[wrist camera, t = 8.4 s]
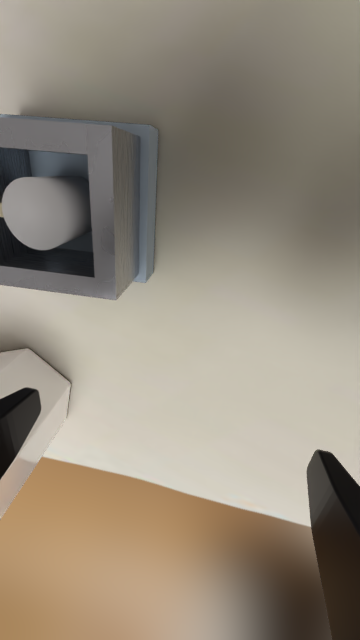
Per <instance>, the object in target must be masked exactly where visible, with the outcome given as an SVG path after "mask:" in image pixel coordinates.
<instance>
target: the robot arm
mask: <svg viewBox="0 0 360 640" xmlns="http://www.w3.org/2000/svg"><path fill="white" fill-rule="evenodd" d="M40 412H41V401H40V394H39V391H38V390H37V389H34V388H29V387H25V388H22V389H20V390H18V391H16V392H14V393H12V394H10V395H8V396H5V397H3V398H1V399H0V480H1V478H2V477H3V475H4V474H5V472H6V471H7V470H8V468H9V467H10V465H11V464H12V462H13V461H14V459H15V458H16V456H17V454H18V453H19V451H20V449H21V447H22V446H23V444H24V442H25V440H26V438H27V437H28V435H29V433H30V431H31V429H32V428H33V426H34V424H35V422H36V420H37V419H38V417H39V415H40ZM307 483H308V495H309V507H310V519H311V529H312V535H313V540H314V546H315V551H316V555H317V562H318V567H319V572H320V578H321V583H322V588H323V594H324V599H325V604H326V610H327V615H328V620H329V625H330V630H331V636H332V640H360V486H359V485H358V484H357V483H356V481H355V480H354V479H353V478H352V477H351V475H350V474H349V473H348V472H347V471H346V469H345V468H344V467H343V466H342V465H341V463H340V462H339V461H338V460H337V459H336V457H335V456H334V455H333V454H332V453H331V452H328V451H323V450H316V451H315V452H314V454H313V456H312V458H311V461H310V463H309V465H308V467H307Z"/></svg>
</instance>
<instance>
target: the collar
mask: <svg viewBox="0 0 360 640" xmlns="http://www.w3.org/2000/svg"><path fill="white" fill-rule="evenodd" d="M140 148H141V137H140V136H138V135H135V134H132V133H130V132H127V131H125V130H122V129H119V128H117V127H114V126H111V125H97V124H84V123H71V122H57V121H44V120H31V119H17V118H4V117H0V202H2V197H3V194H4V191H5V189H6V188H7V186H8V185H9V184H10V183H11V182H12V181H14V180H16V179H18V178H23V177H32V172H31V165H30V158H29V151H28V150H30V151H42V152H54V153H65V154H77V155H87V156H88V173H89V189H90V206H91V223H92V239H93V252H87V251H79V250H70V249H62V248H52V249H49V250H37V249H33V248H30V247H28V246H26V245H25V244H23V243H22V242H20V241H19V240H18V239H17V238H16V237H15V236H14V235H13V233H12V232H11V231H10V229H9V228H8V226H7V224H6V222H5V219H4V217H0V285H6V286H13V287H21V288H28V289H36V290H43V291H51V292H58V293H66V294H73V295H80V296H88V297H95V298H103V299H110V300H117V299H118V298H119V296H120V295H121V294H122V293H123V292H124V291H125V290H126V288H127V287H128V286H129V285H130V284H131V283H132V282H133V280H134V279H135V278H136V277H137V276H138V275H139V228H140Z"/></svg>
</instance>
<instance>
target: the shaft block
mask: <svg viewBox="0 0 360 640" xmlns="http://www.w3.org/2000/svg"><path fill="white" fill-rule="evenodd" d="M0 117H4V118H17V119H31V120H44V121H57V122H71V123H84V124H97V125H111V126H114V127H117V128H119V129H122V130H125V131H127V132H130V133H132V134H135V135H138V136H140V137H141V148H140V228H139V275H138V276H137V277H136V278H135V279H134V280H133V281H135V282H143V283H146V282H147V281H148V279H149V278H150V277H151V275H152V274H153V269H154V241H155V213H156V184H157V156H158V129H156V128H154V127H152V126H151V125H145V124H131V123H117V122H104V121H90V120H76V119H62V118H49V117H35V116H21V115H7V114H0ZM28 151H29V158H30V165H31V172H32V177H23V178H18V179H16V180H14V181H12V182H11V183H10V184H9V185H8V186H7V188H6V189H5V191H4V194H3V197H2V202H0V217H4V219H5V222H6V224H7V226H8V228H9V229H10V231H11V232H12V233H13V235H14V236H15V237H16V238H17V239H18V240H19V241H20V242H22V243H23V244H25V245H26V246H28V247H30V248H33V249H37V250H49V249H52V248H62V249H70V250H79V251H87V252H93V239H92V223H91V206H90V189H89V173H88V156H87V155H77V154H65V153H54V152H42V151H30V150H28Z"/></svg>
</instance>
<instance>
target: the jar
mask: <svg viewBox="0 0 360 640" xmlns="http://www.w3.org/2000/svg"><path fill="white" fill-rule="evenodd" d="M25 387H29V388H34V389H37V390H38V391H39V394H40V401H41V412H40V415H39V417H38V419H37V420H36V422H35V424H34V426H33V428H32V429H31V431H30V433H29V435H28V437H27V438H26V440H25V442H24V444H23V446H22V447H21V449H20V451H19V453H18V454H17V456H16V458H15V459H14V461H13V462H12V464H11V465H10V467H9V468H8V470H7V471H6V472H5V474H4V475H3V477H2V478H1V480H0V519H1V518H2V516H3V515H4V513H5V512H6V510H7V509H8V507H9V505H10V504H11V503H12V501H13V500H14V498H15V496H16V495H17V493H18V492H19V490H20V489H21V487H22V486H23V484H24V483H25V481H26V480H27V478H28V476H29V475H30V474H31V472H32V471H33V469H34V467H35V466H36V465H37V463H38V461H39V460H40V458H41V457H42V455H43V454H44V452H45V451H46V449H47V448H48V446H49V445H50V443H51V442H52V440H53V439H54V437H55V436H56V434H57V433H58V431H59V429H60V428H61V426H62V425H63V423H64V422H65V420H66V417H67V410H68V402H69V395H70V387H71V383H70V382H69V381H68V380H67V379H65V378H64V377H63V376H62V375H61V374H59V373H58V372H57V371H56V370H55V369H53V368H52V367H51V366H50V365H48V364H47V363H46V362H45V361H44V360H42V359H41V358H40V357H39V356H38V355H36V354H35V353H34V352H33V351H32V350H30V349H28V348H26V349H19V350H13V351H6V352H0V399H1V398H3V397H5V396H8V395H10V394H12V393H14V392H16V391H18V390H20V389H22V388H25Z"/></svg>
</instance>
